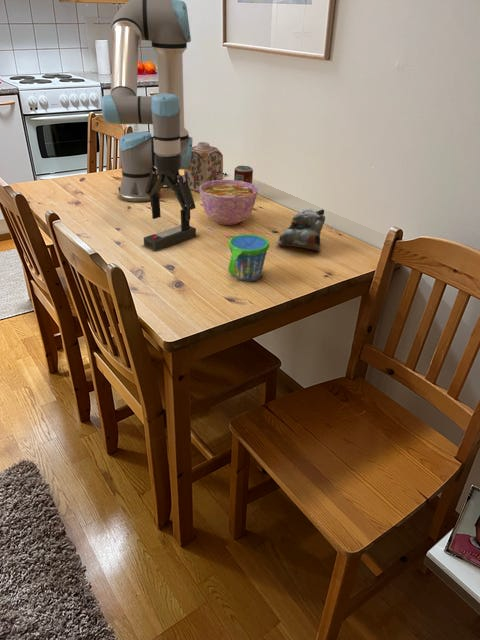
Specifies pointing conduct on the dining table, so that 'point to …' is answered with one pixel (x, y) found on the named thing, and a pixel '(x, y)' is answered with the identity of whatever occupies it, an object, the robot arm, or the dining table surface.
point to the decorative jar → (204, 166)
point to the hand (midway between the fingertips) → (170, 223)
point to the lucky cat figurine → (304, 230)
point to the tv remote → (168, 237)
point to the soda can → (243, 174)
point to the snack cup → (247, 256)
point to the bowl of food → (228, 200)
